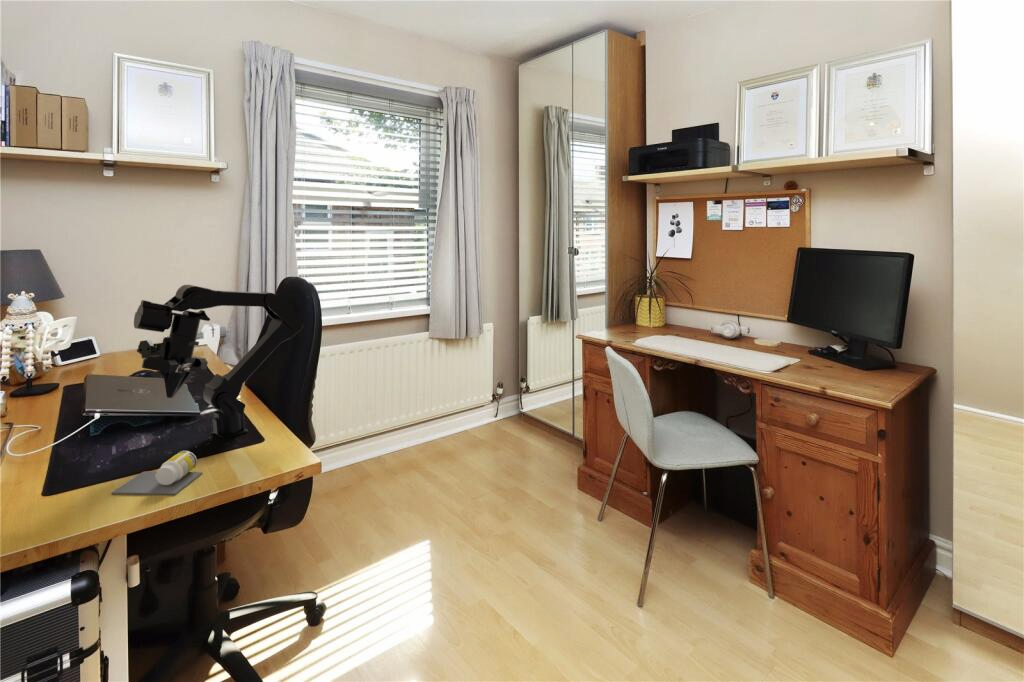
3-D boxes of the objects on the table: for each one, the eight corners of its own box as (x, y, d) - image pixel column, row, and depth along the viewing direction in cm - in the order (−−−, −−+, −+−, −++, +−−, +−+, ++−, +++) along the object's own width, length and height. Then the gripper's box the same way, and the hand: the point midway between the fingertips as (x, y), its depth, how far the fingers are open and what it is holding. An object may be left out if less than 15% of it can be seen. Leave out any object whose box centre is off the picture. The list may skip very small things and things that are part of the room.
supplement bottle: (172, 465, 122) (149, 481, 114) (179, 446, 121) (157, 462, 113) (193, 473, 123) (172, 490, 114) (200, 455, 122) (179, 471, 114)
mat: (144, 473, 121) (143, 471, 121) (202, 473, 121) (202, 472, 121) (111, 494, 112) (111, 492, 112) (175, 495, 112) (175, 493, 112)
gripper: (171, 329, 143) (158, 388, 143) (125, 327, 125) (110, 394, 124) (214, 338, 144) (201, 396, 144) (175, 337, 125) (160, 404, 125)
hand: (169, 397), depth 134 cm, fingers closed
